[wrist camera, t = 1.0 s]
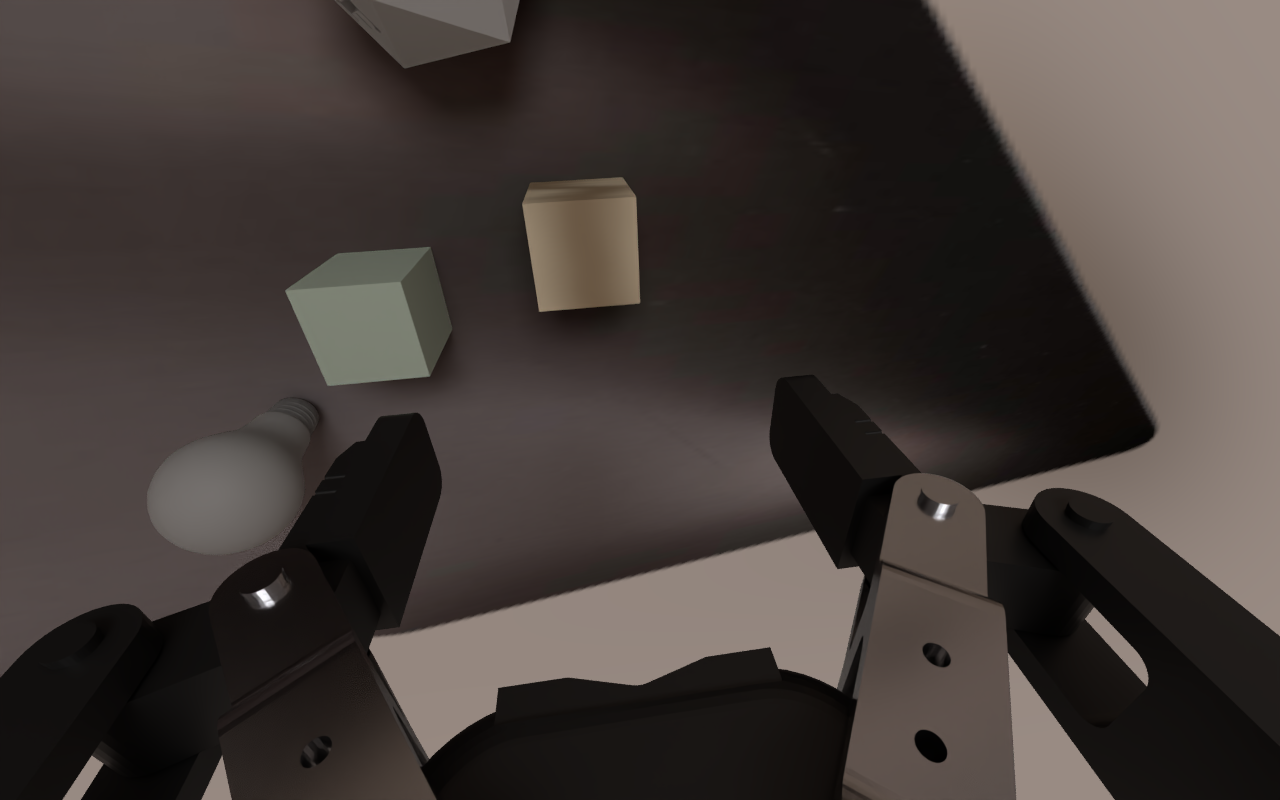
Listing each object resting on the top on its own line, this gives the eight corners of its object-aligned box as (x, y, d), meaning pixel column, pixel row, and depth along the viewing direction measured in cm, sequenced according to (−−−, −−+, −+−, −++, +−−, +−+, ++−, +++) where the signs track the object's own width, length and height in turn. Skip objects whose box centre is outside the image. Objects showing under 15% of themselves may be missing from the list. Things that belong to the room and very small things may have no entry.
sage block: (368, 335, 29) (327, 385, 24) (337, 253, 27) (285, 290, 22) (452, 328, 30) (429, 376, 25) (430, 246, 27) (400, 281, 22)
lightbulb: (304, 349, 29) (184, 467, 20) (375, 421, 33) (300, 551, 23) (224, 392, 30) (73, 524, 21) (301, 458, 33) (201, 597, 24)
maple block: (543, 273, 29) (539, 311, 24) (530, 182, 26) (522, 203, 21) (626, 267, 29) (640, 303, 24) (622, 177, 27) (635, 196, 22)
